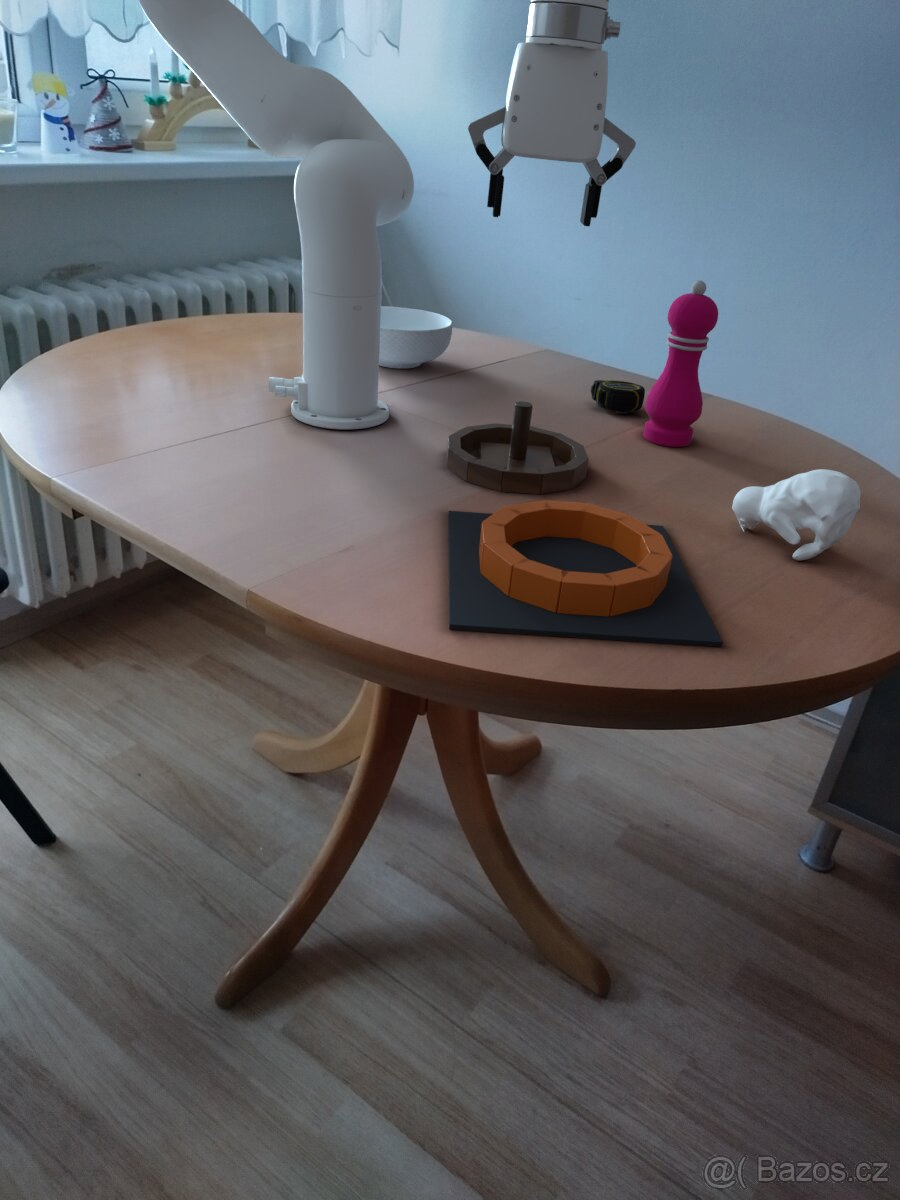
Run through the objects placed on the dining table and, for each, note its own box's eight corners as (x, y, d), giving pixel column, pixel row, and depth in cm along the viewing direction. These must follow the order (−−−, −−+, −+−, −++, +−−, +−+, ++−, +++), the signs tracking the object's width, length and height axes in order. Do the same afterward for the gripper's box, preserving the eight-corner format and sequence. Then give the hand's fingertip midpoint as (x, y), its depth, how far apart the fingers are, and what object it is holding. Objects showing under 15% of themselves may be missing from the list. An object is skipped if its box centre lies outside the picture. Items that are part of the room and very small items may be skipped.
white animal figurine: (847, 486, 78) (727, 458, 86) (827, 572, 82) (714, 537, 90) (874, 472, 82) (757, 446, 90) (855, 554, 86) (744, 523, 94)
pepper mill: (695, 452, 110) (733, 288, 100) (638, 444, 111) (670, 281, 101) (693, 434, 116) (728, 279, 106) (639, 427, 117) (669, 272, 107)
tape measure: (634, 404, 127) (638, 378, 125) (646, 419, 121) (652, 392, 119) (588, 401, 126) (592, 376, 124) (599, 416, 120) (603, 390, 118)
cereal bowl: (448, 381, 129) (452, 333, 126) (337, 372, 129) (338, 324, 125) (450, 353, 144) (453, 309, 141) (350, 345, 144) (351, 301, 140)
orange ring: (483, 608, 71) (486, 576, 69) (476, 523, 85) (479, 495, 84) (682, 621, 71) (690, 590, 70) (642, 534, 86) (648, 507, 84)
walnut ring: (447, 488, 94) (449, 467, 92) (446, 438, 107) (448, 419, 106) (593, 498, 94) (596, 477, 93) (573, 447, 108) (576, 429, 107)
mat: (449, 629, 68) (449, 624, 68) (448, 514, 87) (448, 510, 87) (721, 647, 69) (723, 642, 69) (662, 529, 88) (663, 525, 88)
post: (481, 477, 97) (488, 412, 93) (479, 451, 104) (485, 390, 100) (555, 482, 97) (565, 418, 94) (548, 456, 105) (556, 395, 101)
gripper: (645, 42, 88) (614, 223, 96) (476, 23, 87) (460, 208, 96) (660, 37, 81) (625, 233, 90) (478, 17, 80) (460, 216, 89)
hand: (540, 220), depth 93 cm, fingers open, 9 cm apart
